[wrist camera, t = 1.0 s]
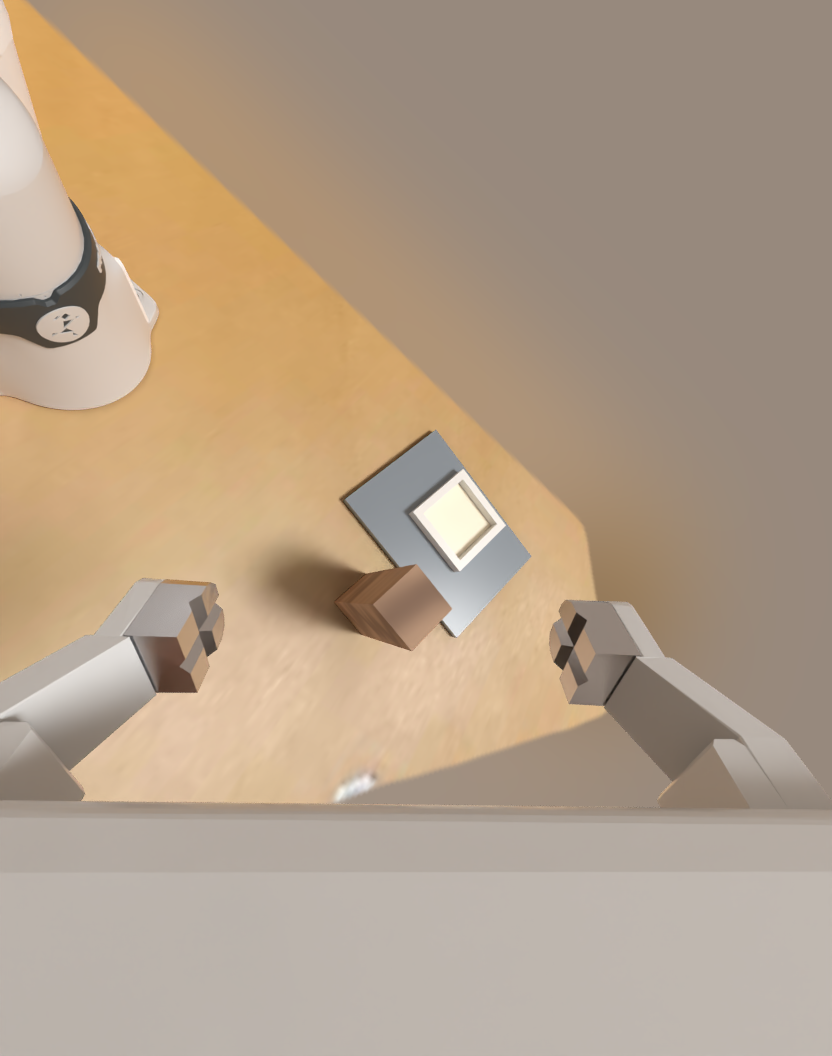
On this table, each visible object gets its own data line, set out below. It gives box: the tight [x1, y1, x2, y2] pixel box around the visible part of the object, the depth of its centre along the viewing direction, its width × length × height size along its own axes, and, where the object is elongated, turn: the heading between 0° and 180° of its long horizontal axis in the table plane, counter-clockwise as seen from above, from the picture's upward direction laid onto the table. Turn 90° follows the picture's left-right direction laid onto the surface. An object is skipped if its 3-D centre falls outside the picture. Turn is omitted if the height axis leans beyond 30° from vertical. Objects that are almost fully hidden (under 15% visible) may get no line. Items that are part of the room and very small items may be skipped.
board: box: [344, 430, 531, 638], centre depth 53 cm, size 22×16×1 cm
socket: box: [409, 469, 506, 572], centre depth 53 cm, size 10×10×2 cm
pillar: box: [334, 564, 452, 651], centre depth 41 cm, size 5×5×16 cm
